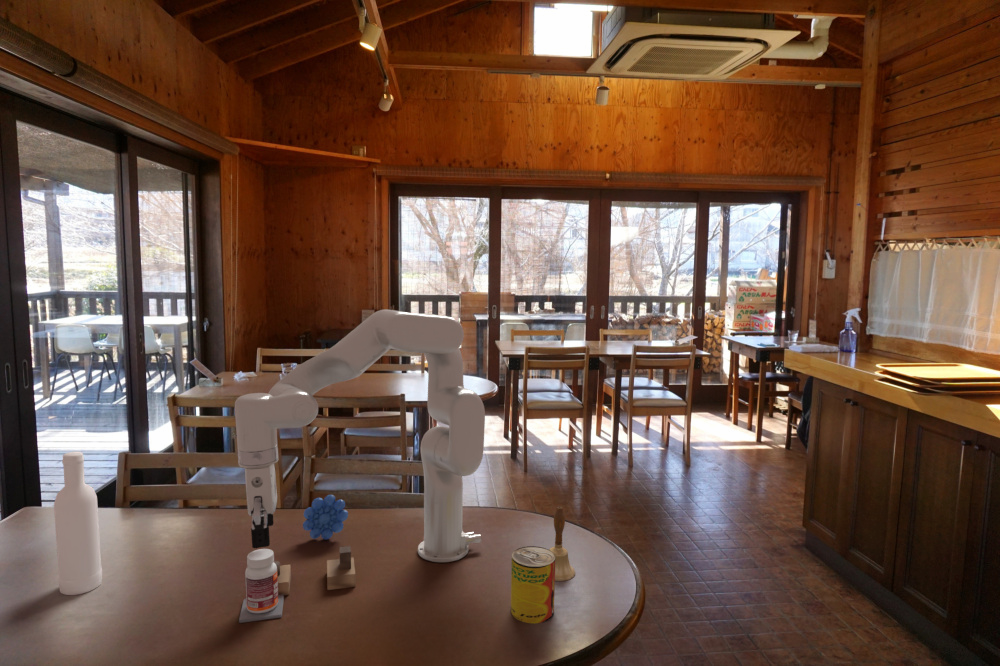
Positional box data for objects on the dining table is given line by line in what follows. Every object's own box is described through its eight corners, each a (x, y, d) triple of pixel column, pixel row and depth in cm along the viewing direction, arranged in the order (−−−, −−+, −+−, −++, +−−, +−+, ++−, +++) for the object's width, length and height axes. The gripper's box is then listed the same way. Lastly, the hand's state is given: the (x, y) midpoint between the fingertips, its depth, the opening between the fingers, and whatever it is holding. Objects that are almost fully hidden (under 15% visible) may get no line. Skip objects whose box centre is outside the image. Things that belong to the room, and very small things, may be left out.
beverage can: (541, 628, 123) (542, 571, 122) (502, 614, 128) (503, 559, 126) (561, 607, 130) (562, 553, 129) (524, 595, 135) (525, 542, 134)
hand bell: (582, 572, 146) (584, 507, 144) (560, 585, 140) (562, 517, 138) (554, 560, 151) (556, 497, 149) (532, 572, 145) (533, 507, 143)
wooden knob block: (353, 569, 145) (353, 540, 145) (355, 586, 138) (355, 556, 137) (262, 580, 140) (261, 550, 139) (259, 598, 132) (258, 567, 131)
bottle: (98, 573, 142) (90, 446, 138) (106, 586, 136) (99, 454, 133) (55, 585, 136) (46, 453, 133) (63, 600, 131) (53, 462, 127)
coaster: (283, 596, 133) (283, 594, 133) (281, 617, 125) (281, 614, 125) (243, 601, 131) (243, 599, 131) (239, 622, 123) (238, 620, 123)
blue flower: (351, 531, 166) (351, 488, 164) (346, 543, 159) (346, 498, 158) (307, 532, 165) (306, 488, 163) (300, 543, 158) (299, 498, 157)
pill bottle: (281, 609, 127) (280, 556, 126) (249, 618, 124) (248, 564, 123) (274, 595, 132) (272, 544, 131) (243, 603, 129) (241, 552, 128)
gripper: (274, 467, 117) (280, 552, 120) (280, 441, 134) (285, 516, 136) (232, 471, 115) (238, 558, 118) (243, 444, 132) (248, 520, 134)
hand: (263, 535), depth 127 cm, fingers open, 9 cm apart
